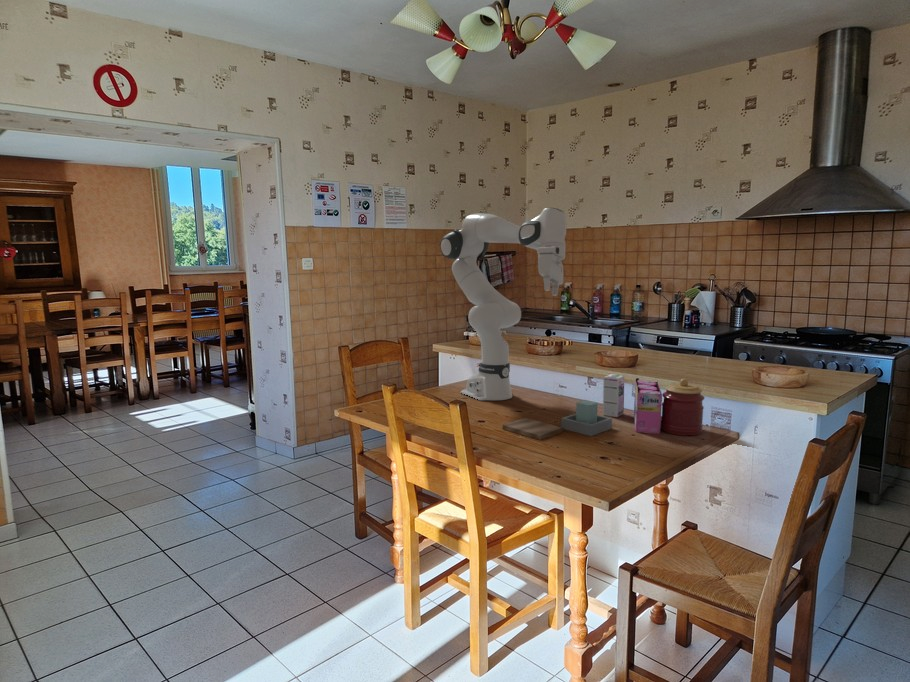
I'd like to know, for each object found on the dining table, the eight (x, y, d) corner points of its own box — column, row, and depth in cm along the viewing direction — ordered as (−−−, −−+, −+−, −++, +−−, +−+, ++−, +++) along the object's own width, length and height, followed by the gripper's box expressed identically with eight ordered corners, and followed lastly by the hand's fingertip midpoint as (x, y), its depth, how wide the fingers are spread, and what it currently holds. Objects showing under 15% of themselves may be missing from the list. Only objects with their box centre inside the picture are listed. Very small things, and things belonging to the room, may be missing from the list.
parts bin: (561, 428, 197) (561, 418, 196) (581, 421, 205) (582, 411, 204) (591, 436, 188) (591, 425, 187) (611, 428, 196) (612, 418, 195)
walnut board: (502, 429, 196) (502, 424, 196) (525, 421, 204) (525, 417, 204) (539, 440, 185) (539, 435, 184) (562, 432, 193) (562, 427, 192)
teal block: (575, 428, 197) (576, 402, 195) (584, 425, 200) (585, 399, 198) (588, 431, 193) (588, 405, 192) (596, 428, 196) (597, 402, 195)
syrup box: (617, 417, 209) (619, 378, 206) (602, 415, 212) (603, 376, 210) (623, 414, 213) (625, 375, 211) (608, 411, 217) (609, 373, 214)
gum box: (633, 413, 215) (634, 377, 213) (655, 414, 213) (657, 378, 211) (635, 432, 192) (637, 392, 190) (660, 434, 190) (662, 393, 188)
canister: (674, 422, 203) (677, 372, 200) (710, 431, 192) (713, 379, 190) (652, 429, 195) (655, 377, 192) (688, 439, 185) (691, 384, 182)
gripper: (551, 260, 214) (549, 298, 213) (535, 247, 195) (533, 287, 194) (568, 260, 211) (567, 297, 210) (553, 246, 193) (552, 287, 191)
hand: (550, 292), depth 202 cm, fingers open, 8 cm apart
